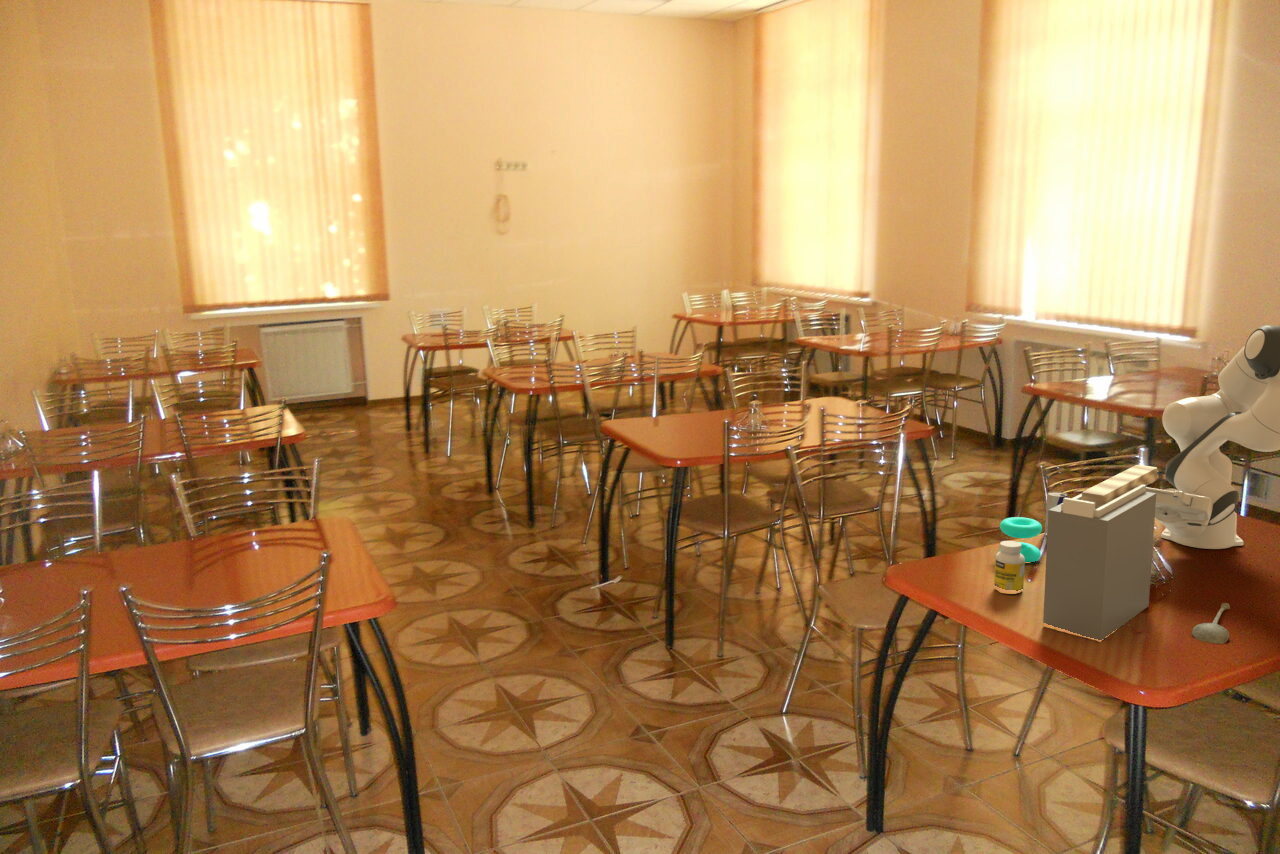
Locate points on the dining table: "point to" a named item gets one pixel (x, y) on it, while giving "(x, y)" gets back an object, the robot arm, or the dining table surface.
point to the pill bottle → (1009, 566)
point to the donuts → (1023, 535)
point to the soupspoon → (1212, 629)
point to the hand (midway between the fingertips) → (1155, 490)
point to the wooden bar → (1120, 484)
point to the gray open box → (1099, 562)
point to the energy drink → (1053, 503)
